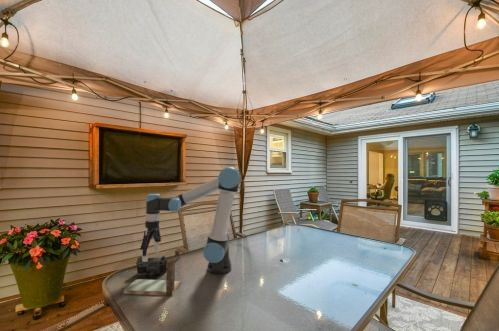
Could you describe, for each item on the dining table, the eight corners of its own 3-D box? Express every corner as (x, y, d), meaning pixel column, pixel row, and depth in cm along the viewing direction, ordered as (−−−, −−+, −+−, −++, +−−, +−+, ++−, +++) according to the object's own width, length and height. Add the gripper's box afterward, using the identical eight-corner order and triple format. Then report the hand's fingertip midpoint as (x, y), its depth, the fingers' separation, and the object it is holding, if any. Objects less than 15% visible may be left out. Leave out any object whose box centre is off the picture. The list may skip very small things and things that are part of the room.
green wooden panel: (181, 283, 123) (182, 249, 124) (172, 295, 111) (173, 257, 112) (136, 282, 125) (137, 248, 125) (123, 293, 113) (124, 255, 113)
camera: (133, 282, 128) (132, 266, 126) (136, 271, 136) (136, 256, 135) (166, 279, 132) (166, 263, 130) (168, 269, 141) (168, 254, 139)
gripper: (156, 216, 146) (154, 249, 145) (134, 224, 121) (132, 265, 121) (167, 216, 146) (165, 250, 145) (148, 225, 121) (146, 265, 120)
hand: (150, 257), depth 133 cm, fingers open, 13 cm apart
